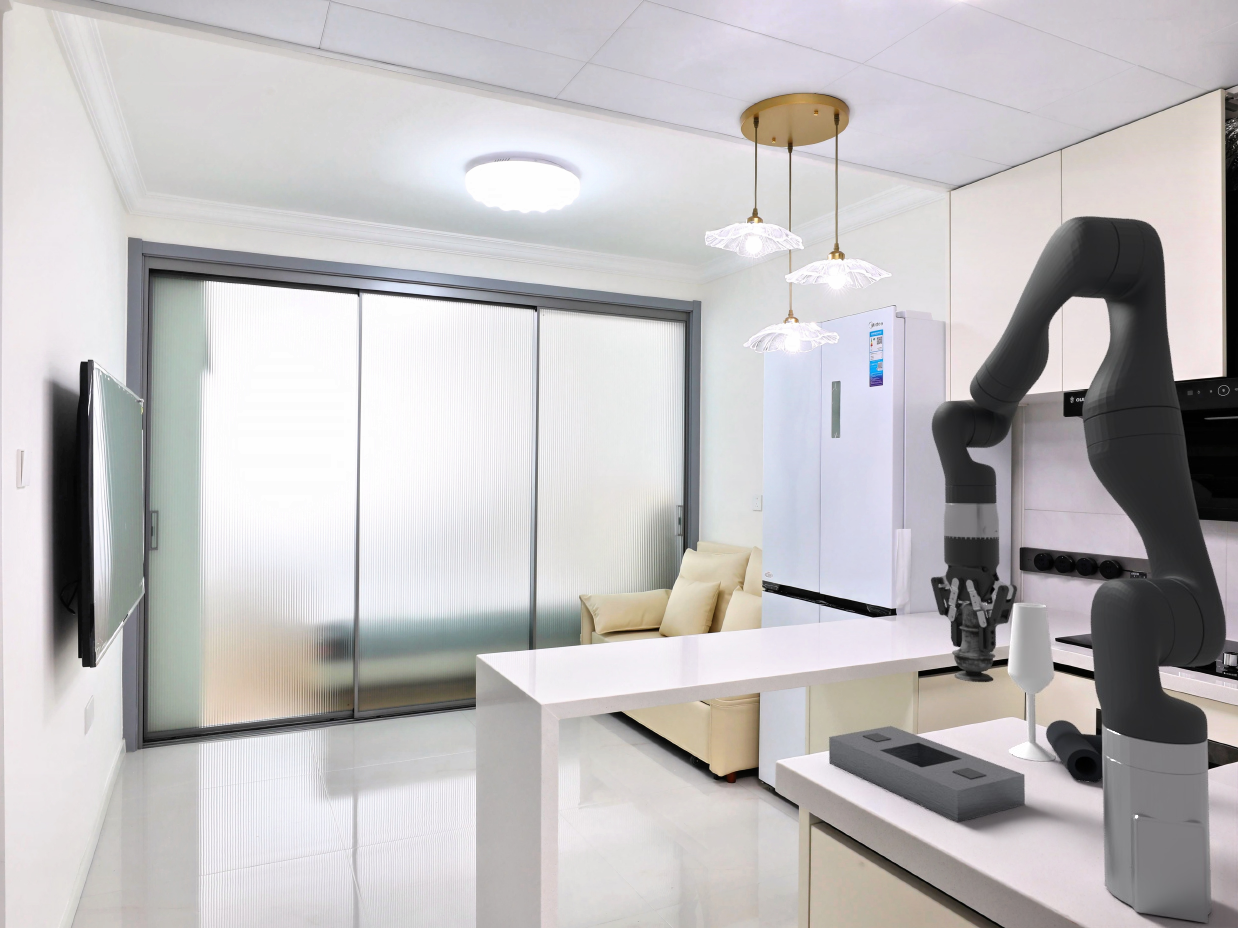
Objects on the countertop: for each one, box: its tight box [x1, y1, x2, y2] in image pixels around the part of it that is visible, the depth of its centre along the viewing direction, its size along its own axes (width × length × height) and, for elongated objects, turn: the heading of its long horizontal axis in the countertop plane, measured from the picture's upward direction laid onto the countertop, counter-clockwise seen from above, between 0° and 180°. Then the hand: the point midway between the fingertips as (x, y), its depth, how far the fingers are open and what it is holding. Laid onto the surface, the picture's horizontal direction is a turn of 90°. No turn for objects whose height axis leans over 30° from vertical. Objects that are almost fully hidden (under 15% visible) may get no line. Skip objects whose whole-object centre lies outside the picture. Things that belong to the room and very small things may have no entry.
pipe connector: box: [1045, 719, 1103, 783], centre depth 120 cm, size 12×5×15 cm
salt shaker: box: [951, 602, 996, 683], centre depth 115 cm, size 6×6×12 cm
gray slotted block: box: [828, 725, 1026, 823], centre depth 113 cm, size 24×13×4 cm, turn 26°
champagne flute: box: [1007, 602, 1056, 762], centre depth 126 cm, size 7×7×24 cm
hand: (972, 648), depth 115 cm, fingers closed on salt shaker, 4 cm apart
